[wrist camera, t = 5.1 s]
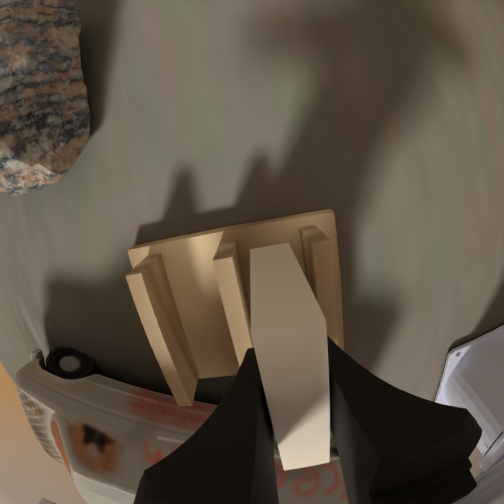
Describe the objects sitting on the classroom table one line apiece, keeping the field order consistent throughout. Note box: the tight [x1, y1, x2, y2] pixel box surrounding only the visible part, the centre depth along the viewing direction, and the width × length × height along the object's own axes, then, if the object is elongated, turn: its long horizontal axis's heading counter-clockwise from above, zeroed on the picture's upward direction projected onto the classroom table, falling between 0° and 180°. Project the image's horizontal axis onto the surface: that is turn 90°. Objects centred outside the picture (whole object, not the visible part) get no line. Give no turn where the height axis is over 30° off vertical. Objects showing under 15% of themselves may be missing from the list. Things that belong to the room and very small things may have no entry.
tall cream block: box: [250, 243, 330, 470], centre depth 11 cm, size 2×7×7 cm, turn 10°
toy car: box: [15, 346, 348, 504], centre depth 15 cm, size 11×25×10 cm, turn 77°
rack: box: [126, 209, 344, 406], centre depth 14 cm, size 11×9×4 cm
